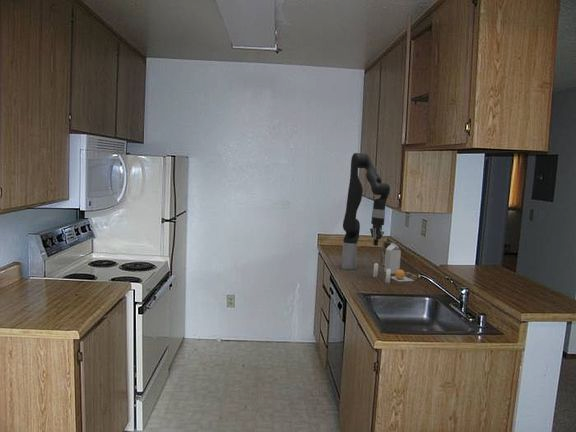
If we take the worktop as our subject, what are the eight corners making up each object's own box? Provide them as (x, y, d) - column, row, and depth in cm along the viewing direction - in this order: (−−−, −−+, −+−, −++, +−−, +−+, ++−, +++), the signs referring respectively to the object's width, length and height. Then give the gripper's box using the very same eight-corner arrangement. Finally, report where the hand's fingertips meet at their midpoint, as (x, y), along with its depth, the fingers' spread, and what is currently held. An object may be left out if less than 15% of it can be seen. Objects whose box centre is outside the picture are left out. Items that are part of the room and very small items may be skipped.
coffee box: (395, 266, 331) (397, 243, 329) (388, 267, 328) (390, 244, 326) (387, 264, 339) (389, 241, 337) (380, 264, 336) (381, 241, 334)
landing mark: (389, 277, 298) (389, 276, 298) (404, 276, 302) (404, 276, 302) (398, 281, 288) (398, 281, 288) (414, 280, 291) (414, 280, 291)
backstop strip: (405, 276, 301) (405, 272, 301) (407, 276, 302) (408, 272, 302) (414, 280, 292) (414, 275, 292) (416, 280, 293) (417, 275, 292)
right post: (384, 282, 284) (385, 268, 283) (388, 282, 285) (389, 268, 284) (386, 283, 282) (388, 269, 281) (390, 283, 282) (391, 269, 282)
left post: (372, 276, 298) (373, 263, 297) (376, 276, 299) (377, 263, 298) (374, 277, 296) (375, 264, 295) (378, 277, 297) (379, 264, 296)
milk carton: (389, 273, 307) (391, 244, 305) (384, 271, 314) (386, 242, 312) (399, 273, 309) (401, 244, 307) (393, 271, 316) (396, 242, 314)
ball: (403, 277, 297) (396, 282, 295) (397, 268, 298) (391, 273, 295) (408, 275, 292) (402, 280, 289) (403, 266, 292) (396, 271, 290)
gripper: (367, 215, 291) (364, 243, 293) (378, 218, 279) (375, 247, 281) (378, 215, 294) (375, 243, 296) (389, 218, 281) (386, 247, 283)
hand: (375, 245), depth 288 cm, fingers closed
